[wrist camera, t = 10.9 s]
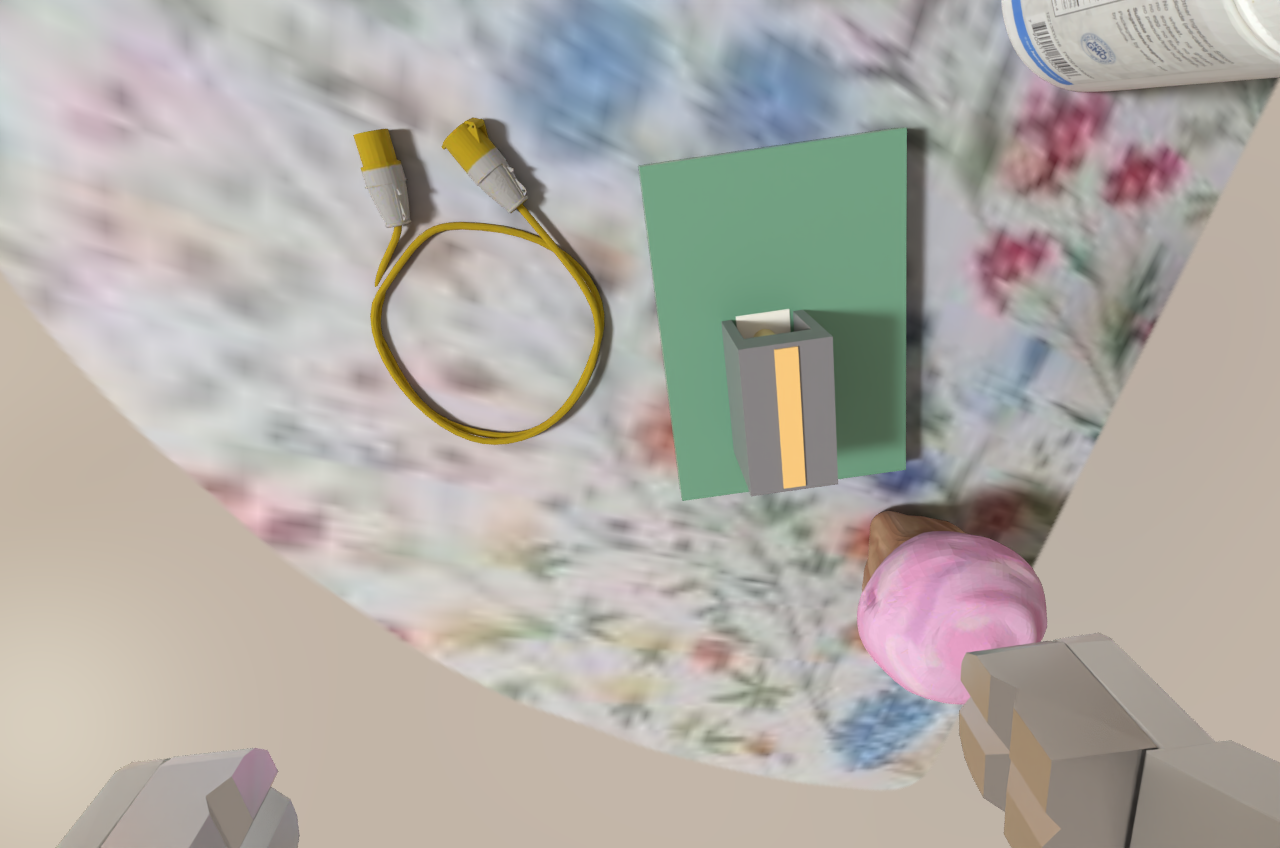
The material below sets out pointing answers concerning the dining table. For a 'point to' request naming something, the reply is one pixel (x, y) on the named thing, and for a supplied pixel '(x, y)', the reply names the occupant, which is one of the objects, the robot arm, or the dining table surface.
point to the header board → (782, 287)
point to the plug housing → (783, 406)
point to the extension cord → (495, 181)
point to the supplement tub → (1144, 41)
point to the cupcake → (942, 602)
